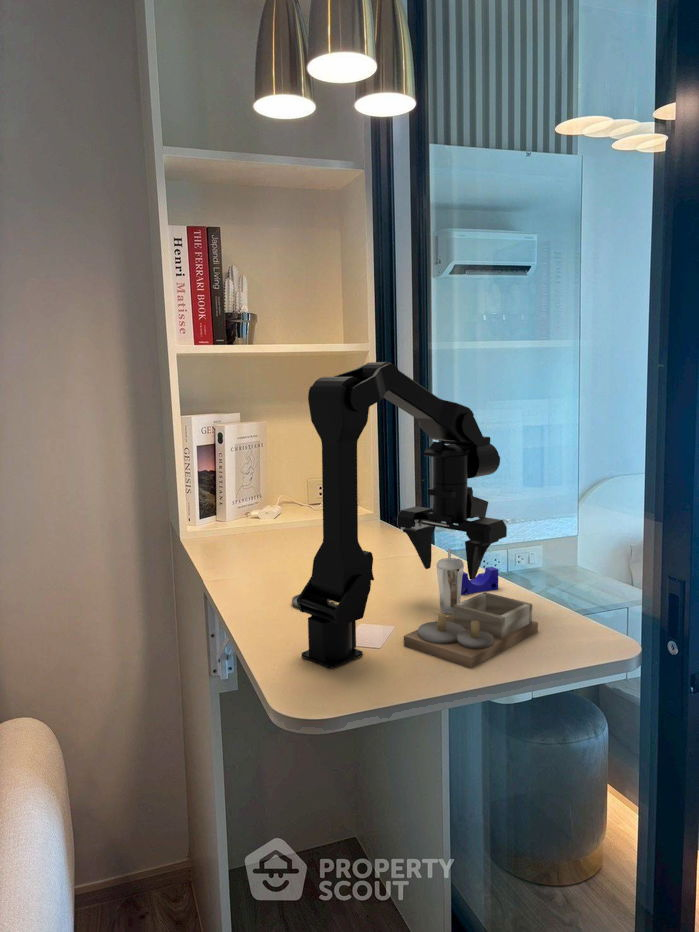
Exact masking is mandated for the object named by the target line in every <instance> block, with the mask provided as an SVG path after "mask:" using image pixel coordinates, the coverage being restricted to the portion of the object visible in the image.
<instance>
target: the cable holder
mask: <svg viewBox="0 0 699 932" xmlns="http://www.w3.org/2000/svg"><path fill="white" fill-rule="evenodd" d="M496 590H499V568H496V567H494V566H489V567H488V566H486V567H485V569H484V572H481V573H477V575H476V577H475V579H472V580H471V579H470V578H469V574H468V572H465V571H463V578H462V587H461V596H463V595H464V596H465V595H470V594H477V593H484V592H490V591H496Z"/></svg>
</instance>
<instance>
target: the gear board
mask: <svg viewBox="0 0 699 932" xmlns="http://www.w3.org/2000/svg"><path fill="white" fill-rule="evenodd" d="M538 632H539V622H538V621H534V620H533V603H530V602H527V601H521V600H518V599H514V598H510V597H505V596H502V595H499V594H493V593H490V592H487V591H484V592H481V593H479V594H477V595H475V596H472V597H470V598H468V599H465V600H463V601H460V603H458V604H456V605H453V614H449V615H448V616H447V615H446V614H445V613H444V614H443V613H439V614H437V620H436V621H430V622H425V623H422V624H421V625H420V626H418V627H417V629H416V630H414V631H412V632H408V633H406V634H404V635H403V646H404V647H407V648H410V649H414V650H415V651H418V652H423V653H425V654H427V655H430V656H433V657H438V658H440V659H443V660H446V661H449V662H452V663H454V664H457V665H461V666H462V667H463V666H464V667H467V668H470V669H472V668H474V667H476V666H478V665H480V664H481V663H483V662H485V661H487V660H489V659H491V658H492V657H494V656H497V655H498V654H500V653H502V652H504V651H505V650H507V649H509V648H511V647H512V646H514V645H516V644H518V643H520V642H522V641H523V640H525V639H527V638H529V637H531V636H533V635H535V634H536V633H538Z"/></svg>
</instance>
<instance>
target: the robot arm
mask: <svg viewBox="0 0 699 932" xmlns="http://www.w3.org/2000/svg"><path fill="white" fill-rule="evenodd" d="M307 395H308V396H307V399H308V407H309V415H310V422H311V423H312V425H313V427H314V428H315V431H316V433H317V435H318V436H319V438H320V442H321V474H322V475H321V477H322V481H321V483H322V484H321V485H322V532H323V533H322V542H321V545H320V546H319V547H318V548H319V549H318V550H317V552H316V553H315V555H314V557H313V561H312V569H311V576H310V578H309V579H308V581H307V583H306V584H305V586H304V587H303V589H302V590H301V592H300V593H299V594H300V595H299V594H298V595H299V597H298V598H297V604H298V607H297V608H298V609H299V612H300V613H305V614H307V615H310V616H308V617H307V630H308V631H307V634H308V635H307V636H308V637H307V638H308V650H305V651H302V652H301V657H302V658H303V659H306V660H309V661H311V662H314V663H316V664H319V665H321V666H324V667H326V668H328V669H335V668H337V667H340V666H341V665H344V664H346V663H349V662H351V661H354V660H355V659H357V658H359V657H362V656H363V655H364V653H363V651H362V650H359V649H357V648H356V647H357V630H356V629H357V625H356V624H357V623H356V621H359V620H361V619H362V620H363V618H364V615H365V611H366V606H367V603H368V598H369V594H370V591H371V586H372V581H374V580H375V577H374V575H373V574H374V573H373V572H374V571H373V563H374V556H373V553H372V551H367V550H363V549H362V547H361V544H360V542H359V538H358V537H359V536H358V535H359V529H358V528H359V527H358V526H359V522H358V521H359V518H358V516H359V515H358V513H359V511H358V508H359V507H358V499H359V498H358V440H359V438H360V437H361V435H362V433H363V431H364V429H365V428H366V426H367V423H368V419H369V411H370V408H371V407H372V406H374V405H375V404H377V403H378V402H380V401H381V400H382V399H385V400H387V401H388V402H390V403H391V404H393V405H394V406H396V407H397V408H399V409H401V410H403V411H404V412H405V413H406V414H408V415H410V416H412V417H413V418H414V419H416V420H417V422H418V423H419V427H420V429H421V430H422V431H423V432H424V433H425V434H426V435H427V436H428V437H429V438H430V439H432V440H434V441H432V442H431V444H430V446H429V447H427V448H426V449H425V451H424V453H423V455H424V457H430V458H432V487H429V488H427V495H428V496H432V508H429V507H423V506H418V505H417V506H412V507H408V508H407V507H406V508H403V509H401V510H400V511H398V512H399V513H398V514H397V517H396V526H397V528H402V533H405V534H406V535H407V537H408V538H409V540H410V542H411V544H412V545H413V547H414V550H415V551H416V553H417V554H418V557H419V559H420V561H421V563H422V565H423V567H424V569H425V570H429V569H431V566H432V543H433V542H432V539H433V538H432V537H433V534H434V531H435V529H436V527H437V528H441V529H446V530H453V531H459V532H464V533H465V534H466V537H467V538H468V540H466V541H464V546H465V548H464V549H465V554H466V555H465V556H466V564H467V565H466V566H467V574H468V579H469V580H472V579H475V577H477V575H478V572H479V569H480V566H481V564H482V561H483V559H484V557H485V554H486V552H487V550H488V549H489V547H491V545H492V544H494V543H497V542H499V541H500V540H503V539H504V538H507V537H508V535H507V532H508V530H507V528H508V527H507V524H506V523H505V521H504V519H499V518H498V519H497V518H494V517H493V518H491V517H486V515H487V511H488V506H489V501H487V500H485V499H483V498H479V497H476V496H474V490H473V487H471V486H468V479H474V478H479V477H485V476H490V475H492V474H494V473H495V472H497V470H498V469H499V467H500V463H501V456H500V455H499V451H498V450H497V447H495V446H494V445H493V444H491V437H490V436H484V435H483V434H482V431H481V429H480V427H479V424H478V422H477V420H476V418H475V416H474V415H475V414H474V412H473V410H472V409H471V408H470V407H469V406H466V405H463V404H461V403H458V402H454V401H450V400H445V399H442V398H440V397H438V396H437V395H435V394H434V393H432V392H431V391H430V390H428V389H426V387H423V386H422V385H421V384H419V383H418V382H416V381H415V380H413V379H412V378H411V377H409V376H408V375H407V374H405V373H404V372H402V371H401V370H399V368H398V367H397V365H395V364H393V363H392V362H389V361H378V362H377V361H375V362H374V361H373V362H367V363H365V364H363V365H361V366H360V367H357V368H355V369H352V370H349V371H346V372H343V373H339V374H337V375H334V376H322V377H319V378H317V380H315V381H314V382H313V384H312V385H311V386H310V387H309V389H308V394H307ZM475 518H477V519H475ZM468 519H473V520H468ZM327 599H329V600H332V602H335V603H338V604H335V603H332V602H331V601H330V602H327Z"/></svg>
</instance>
